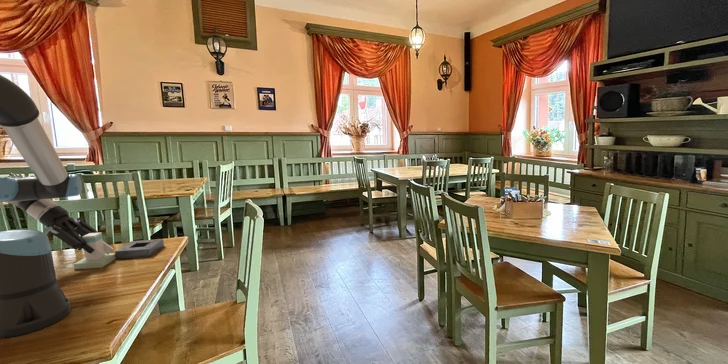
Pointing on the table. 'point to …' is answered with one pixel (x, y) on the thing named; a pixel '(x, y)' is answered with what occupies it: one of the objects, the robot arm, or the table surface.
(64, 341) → the table surface
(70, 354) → the table surface
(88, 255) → the plug peg
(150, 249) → the socket block
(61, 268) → the table surface
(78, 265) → the pale green square slab
